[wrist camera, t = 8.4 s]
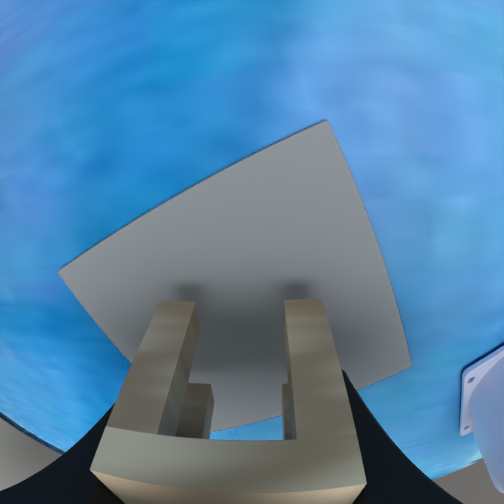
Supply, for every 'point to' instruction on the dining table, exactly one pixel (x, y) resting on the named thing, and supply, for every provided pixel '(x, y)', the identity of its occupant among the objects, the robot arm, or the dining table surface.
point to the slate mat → (252, 273)
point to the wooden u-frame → (230, 451)
